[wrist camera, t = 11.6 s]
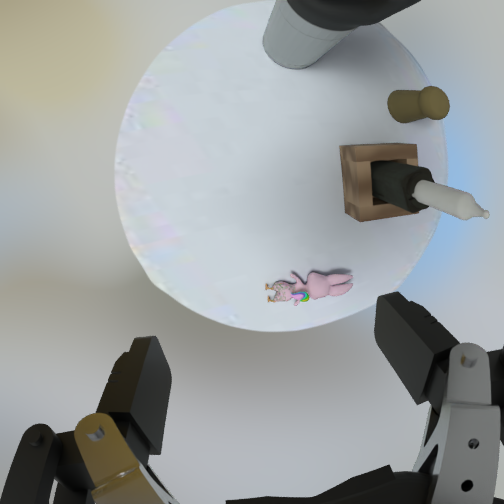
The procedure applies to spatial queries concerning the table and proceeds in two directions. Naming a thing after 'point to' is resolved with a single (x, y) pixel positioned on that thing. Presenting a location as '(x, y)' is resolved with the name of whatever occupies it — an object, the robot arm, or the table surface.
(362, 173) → the box
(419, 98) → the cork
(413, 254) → the table surface
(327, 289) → the pink rainbow-tailed figurine
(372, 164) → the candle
